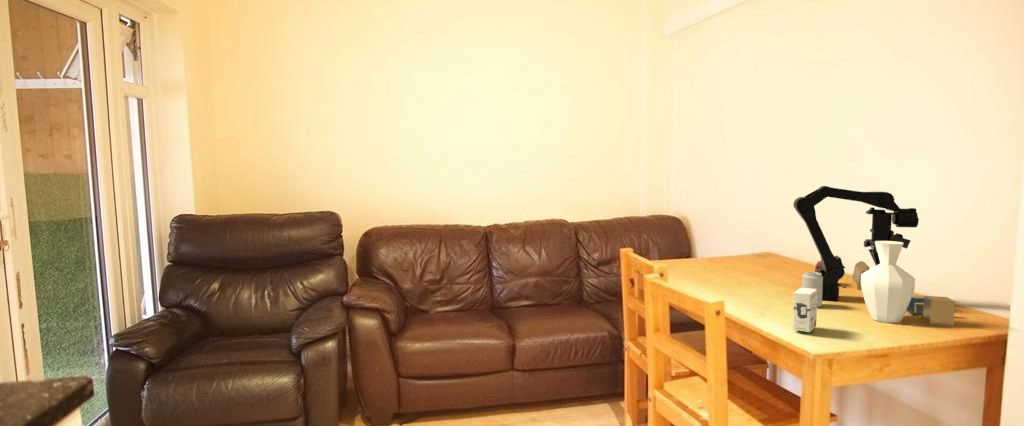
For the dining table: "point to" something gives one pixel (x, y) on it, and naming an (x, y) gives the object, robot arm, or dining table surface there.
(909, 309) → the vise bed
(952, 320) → the block
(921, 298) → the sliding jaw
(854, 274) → the stone
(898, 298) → the vase
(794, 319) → the ink box
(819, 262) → the stuffed fox
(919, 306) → the fixed jaw
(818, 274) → the beverage can
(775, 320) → the dining table surface
